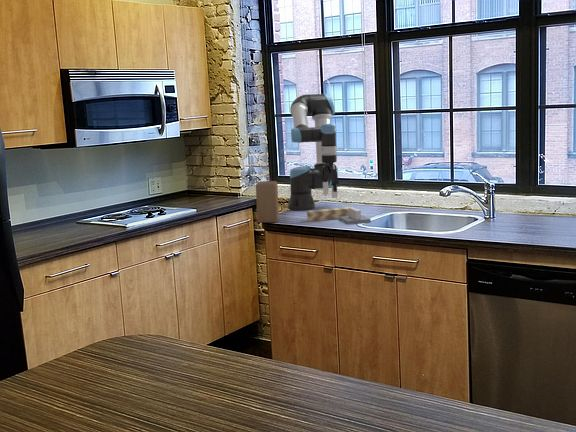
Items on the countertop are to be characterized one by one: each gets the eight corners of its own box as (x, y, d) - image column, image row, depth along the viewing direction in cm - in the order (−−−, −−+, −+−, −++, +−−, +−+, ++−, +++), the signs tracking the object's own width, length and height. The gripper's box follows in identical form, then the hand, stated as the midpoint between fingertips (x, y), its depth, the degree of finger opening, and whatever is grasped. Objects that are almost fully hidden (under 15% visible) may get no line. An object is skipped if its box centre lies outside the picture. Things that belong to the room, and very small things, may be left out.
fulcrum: (339, 219, 340) (339, 208, 339) (361, 217, 344) (361, 206, 342) (347, 224, 329) (347, 212, 328) (370, 222, 332) (370, 210, 331)
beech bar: (309, 222, 339) (309, 212, 338) (307, 220, 343) (306, 211, 342) (353, 217, 346) (353, 208, 345) (350, 216, 350) (350, 206, 349)
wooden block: (279, 218, 348) (277, 180, 344) (276, 222, 338) (275, 183, 335) (259, 219, 349) (258, 181, 345) (257, 223, 339) (255, 184, 336)
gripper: (314, 153, 349) (315, 193, 353) (330, 156, 325) (331, 200, 329) (328, 152, 351) (329, 192, 355) (344, 155, 327) (345, 198, 331)
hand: (330, 196), depth 342 cm, fingers open, 13 cm apart
